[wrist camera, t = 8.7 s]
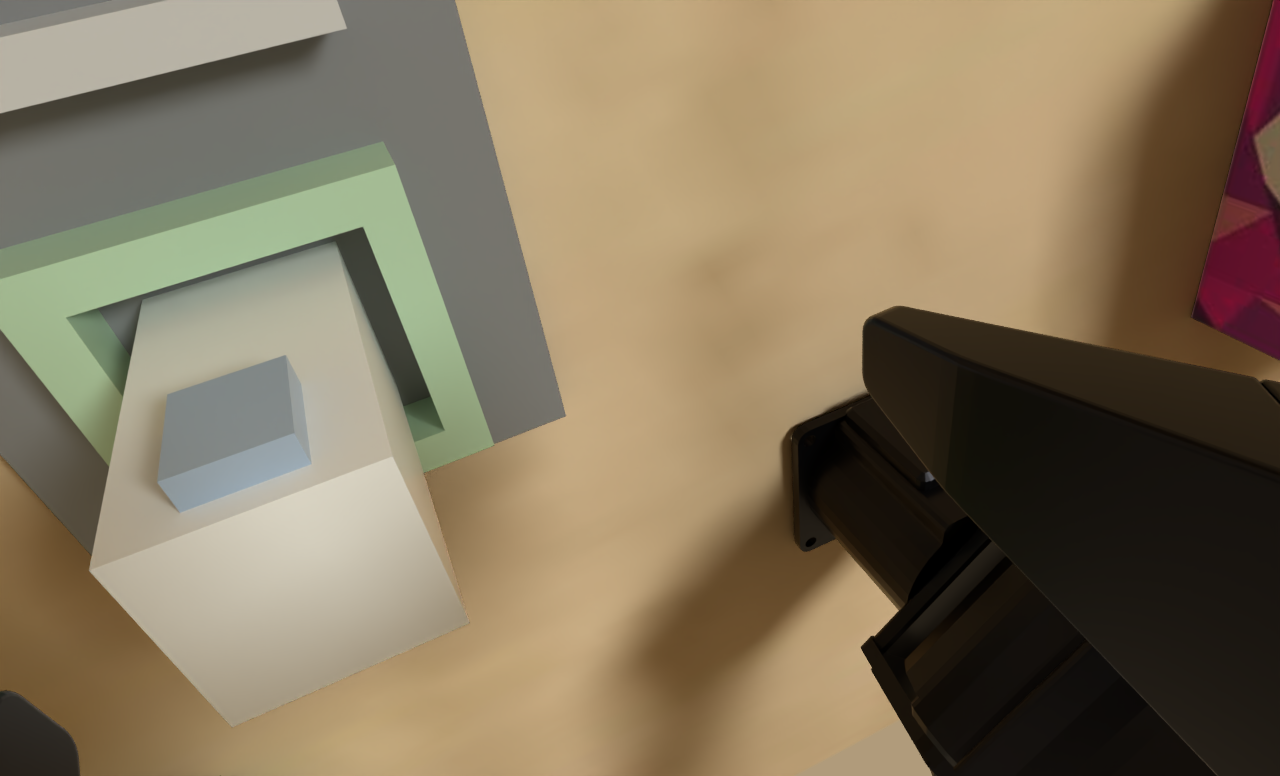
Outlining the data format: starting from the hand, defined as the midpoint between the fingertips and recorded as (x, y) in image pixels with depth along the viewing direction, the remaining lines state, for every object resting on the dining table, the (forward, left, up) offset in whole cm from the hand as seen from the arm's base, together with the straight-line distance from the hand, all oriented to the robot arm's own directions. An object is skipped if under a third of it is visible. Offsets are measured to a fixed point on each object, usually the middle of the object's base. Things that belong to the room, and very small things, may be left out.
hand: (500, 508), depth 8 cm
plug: (-3, +3, -11) cm, 12 cm away
